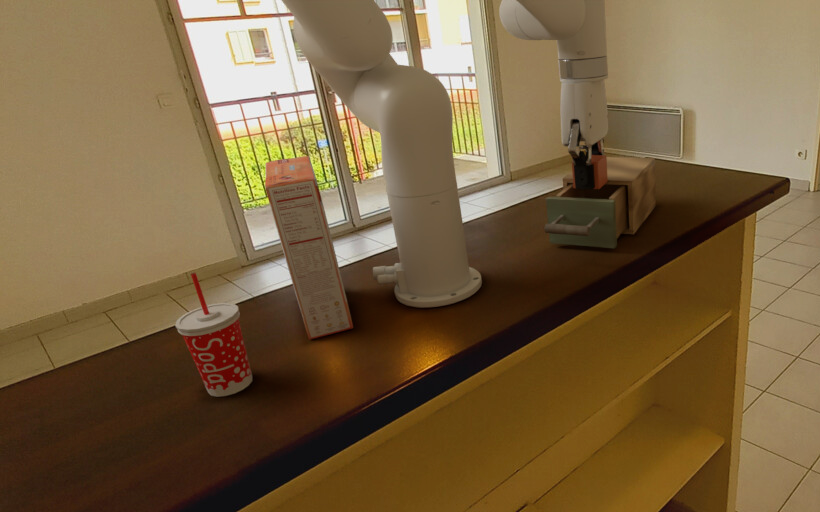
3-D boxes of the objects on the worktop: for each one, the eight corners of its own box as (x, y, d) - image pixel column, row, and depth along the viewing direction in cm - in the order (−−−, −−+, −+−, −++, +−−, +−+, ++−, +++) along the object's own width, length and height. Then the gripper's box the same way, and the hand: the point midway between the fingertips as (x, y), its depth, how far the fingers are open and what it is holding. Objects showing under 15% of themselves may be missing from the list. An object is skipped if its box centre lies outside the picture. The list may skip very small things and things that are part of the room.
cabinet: (633, 234, 105) (632, 180, 102) (566, 229, 110) (562, 178, 106) (655, 206, 119) (655, 158, 115) (594, 203, 123) (592, 156, 120)
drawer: (602, 263, 93) (599, 215, 90) (534, 257, 97) (529, 210, 94) (639, 218, 110) (637, 176, 107) (580, 215, 114) (577, 174, 111)
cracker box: (301, 300, 90) (263, 160, 82) (343, 290, 92) (311, 153, 84) (305, 342, 78) (261, 184, 70) (354, 330, 80) (317, 175, 72)
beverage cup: (187, 400, 68) (145, 286, 62) (224, 369, 73) (188, 262, 68) (237, 401, 67) (198, 286, 61) (270, 370, 72) (238, 261, 67)
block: (599, 189, 99) (597, 162, 97) (573, 188, 100) (571, 161, 98) (607, 181, 102) (606, 155, 101) (582, 180, 104) (581, 154, 102)
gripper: (579, 64, 103) (586, 169, 110) (539, 78, 88) (549, 198, 95) (622, 62, 100) (626, 171, 107) (587, 76, 86) (595, 200, 93)
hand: (590, 182), depth 101 cm, fingers closed on block, 4 cm apart
